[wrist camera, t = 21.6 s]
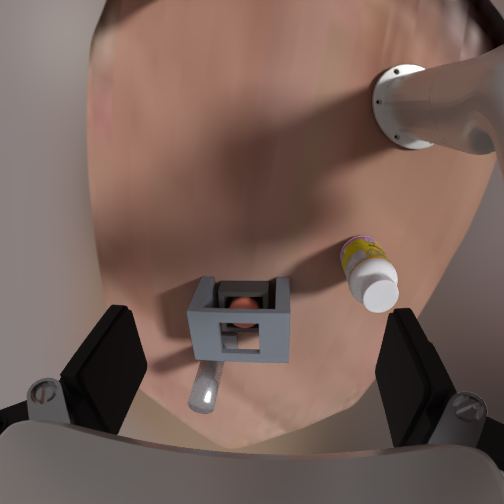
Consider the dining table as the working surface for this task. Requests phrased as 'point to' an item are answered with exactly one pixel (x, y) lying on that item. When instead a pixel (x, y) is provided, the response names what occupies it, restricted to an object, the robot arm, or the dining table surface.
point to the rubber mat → (230, 340)
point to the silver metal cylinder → (206, 386)
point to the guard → (240, 321)
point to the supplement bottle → (369, 274)
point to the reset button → (244, 307)
